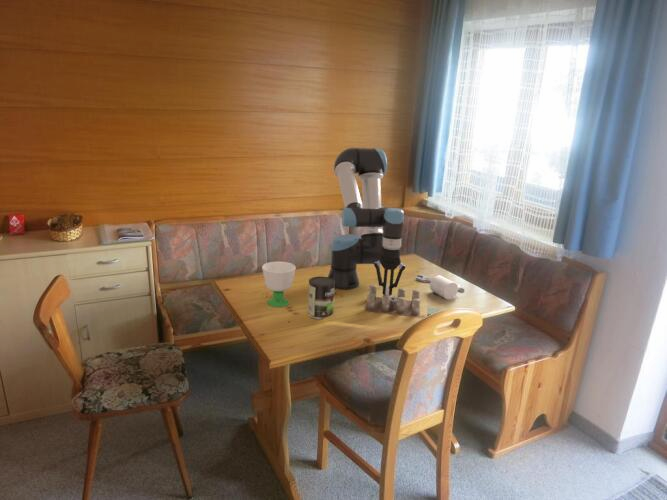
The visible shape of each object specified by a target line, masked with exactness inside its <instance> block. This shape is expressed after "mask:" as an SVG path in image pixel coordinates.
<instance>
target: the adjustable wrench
mask: <svg viewBox="0 0 667 500" xmlns="http://www.w3.org/2000/svg"><path fill="white" fill-rule="evenodd" d="M432 279H433V278H431V277H429V276H428V275H426V274H417V275H416V278H415V280H416V281H418V282H421V283H429V284H430V282H431V280H432ZM457 292H460V293H465V288H463V287H460V289H459V290H458V291H457Z"/></svg>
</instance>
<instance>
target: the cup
mask: <svg viewBox="0 0 667 500" xmlns="http://www.w3.org/2000/svg"><path fill="white" fill-rule="evenodd" d="M261 267H262V274H263V278H264V283H265V287H266V288H267V289H268V290H270V291H272V292H273V293H272V297H273V298H271V299H270V298H269V299H268V301H267V304H268V305H269V306H270V307H272V308H284V307H286V306H288V305H289V304H290V301H289V300H288V299H287V298H284V297H285V293H284V292H285V291H288V290H289V289H290V288H291V286H292V285H293V281H294V279H295V278H294V277H295V272H296V269H297V267H296V265H295V264H294V263H292V262H287V261H278V260H277V261H269V262H266V263H264V264H263V265H261Z"/></svg>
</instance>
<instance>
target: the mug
mask: <svg viewBox="0 0 667 500" xmlns="http://www.w3.org/2000/svg"><path fill="white" fill-rule="evenodd" d="M431 279H432V280H431V282H430V283H429V289H430V291H431V292H433V293H435V294H436V295H438V296H440V297H441V298H444V300H453V299H454V298H455V297H456V296H457V294H458V292H459V291H458V290H459V289H460V288H461V285H460V284H459V283H456V282H454V281H451V280H450V279H448V278H446V277H444V276H442V275H440V274H439V275H435V276H433V277H432V278H431Z"/></svg>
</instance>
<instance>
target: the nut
mask: <svg viewBox="0 0 667 500" xmlns="http://www.w3.org/2000/svg"><path fill="white" fill-rule="evenodd" d="M397 298H398V296H395V295H394V296H390V302H389V308H392V309H396V308H397Z"/></svg>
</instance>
